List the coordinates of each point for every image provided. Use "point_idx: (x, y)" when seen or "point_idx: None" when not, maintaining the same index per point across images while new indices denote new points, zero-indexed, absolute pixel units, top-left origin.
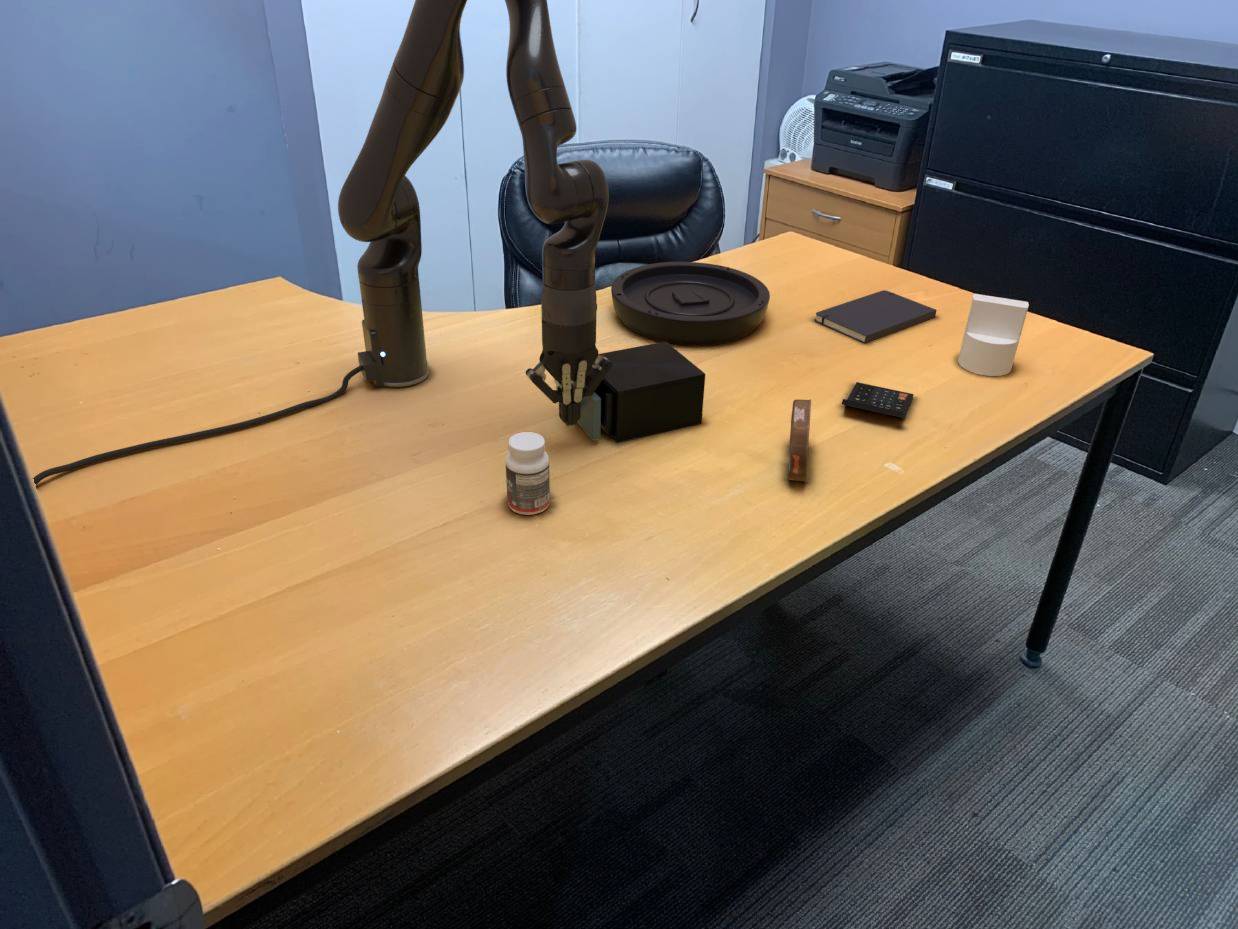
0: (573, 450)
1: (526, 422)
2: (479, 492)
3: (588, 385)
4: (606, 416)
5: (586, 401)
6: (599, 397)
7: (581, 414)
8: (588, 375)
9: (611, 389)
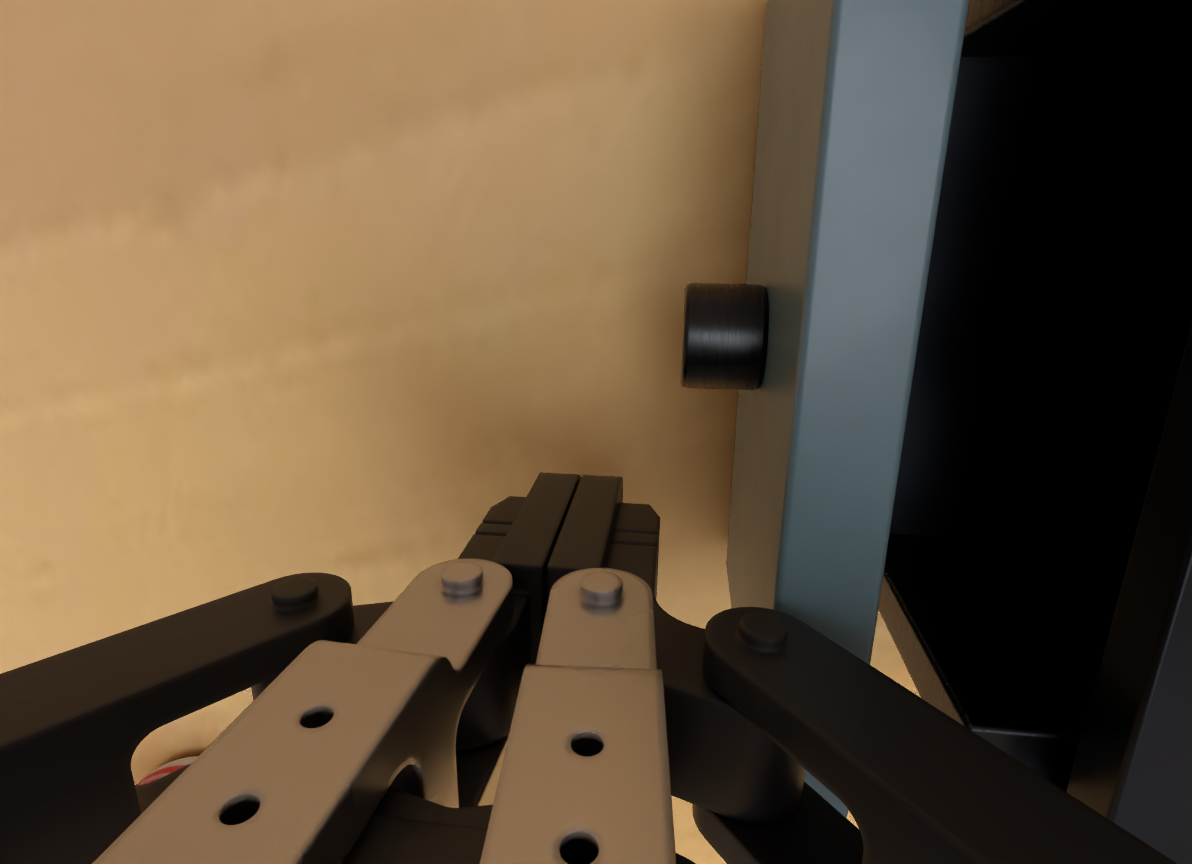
0: None
1: (429, 48)
2: (36, 657)
3: (753, 861)
4: (885, 616)
5: (758, 589)
6: None
7: (748, 407)
8: (857, 812)
9: (1081, 752)
